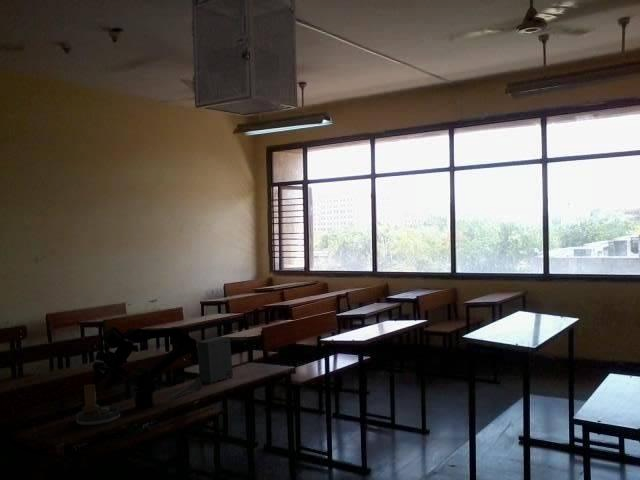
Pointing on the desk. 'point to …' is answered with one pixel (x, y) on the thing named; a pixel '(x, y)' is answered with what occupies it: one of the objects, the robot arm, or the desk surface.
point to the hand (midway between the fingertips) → (97, 388)
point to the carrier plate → (99, 416)
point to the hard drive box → (214, 359)
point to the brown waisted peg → (90, 400)
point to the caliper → (188, 388)
